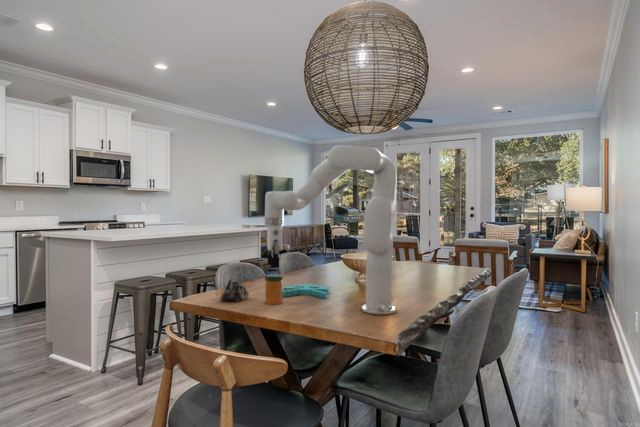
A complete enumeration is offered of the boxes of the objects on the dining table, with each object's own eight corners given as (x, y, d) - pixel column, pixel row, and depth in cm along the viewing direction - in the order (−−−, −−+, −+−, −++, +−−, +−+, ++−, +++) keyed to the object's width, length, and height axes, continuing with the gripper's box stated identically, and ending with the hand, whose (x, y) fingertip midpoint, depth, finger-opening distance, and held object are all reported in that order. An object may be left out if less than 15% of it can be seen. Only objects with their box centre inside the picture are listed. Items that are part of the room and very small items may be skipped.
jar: (283, 303, 163) (283, 277, 162) (266, 304, 161) (266, 278, 161) (280, 300, 169) (280, 275, 169) (264, 301, 167) (264, 275, 167)
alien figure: (326, 298, 173) (329, 289, 193) (326, 293, 173) (330, 284, 193) (279, 297, 175) (287, 288, 195) (279, 291, 175) (288, 283, 195)
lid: (283, 280, 162) (283, 276, 162) (266, 281, 161) (266, 277, 160) (280, 277, 169) (280, 273, 169) (264, 278, 167) (264, 274, 167)
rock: (239, 308, 161) (252, 285, 166) (218, 296, 161) (231, 274, 166) (238, 313, 173) (250, 292, 177) (218, 302, 173) (230, 282, 177)
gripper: (287, 223, 157) (286, 269, 157) (279, 221, 174) (278, 262, 174) (267, 223, 155) (266, 269, 155) (262, 221, 172) (261, 263, 172)
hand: (273, 265), depth 165 cm, fingers open, 7 cm apart
